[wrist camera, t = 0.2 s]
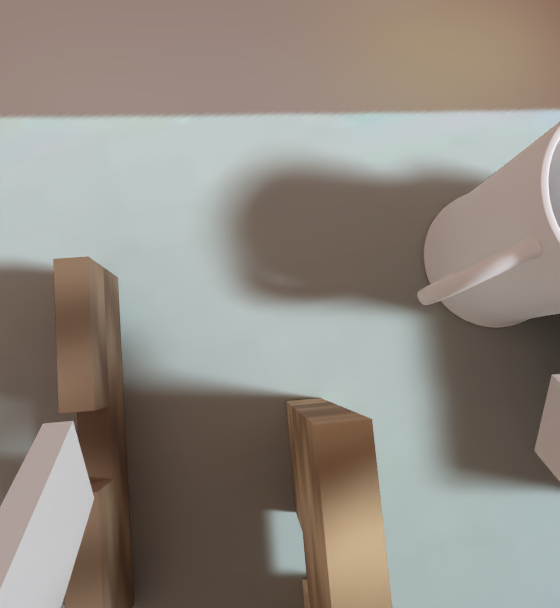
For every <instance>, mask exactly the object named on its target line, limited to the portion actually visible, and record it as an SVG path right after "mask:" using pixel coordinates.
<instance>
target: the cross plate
mask: <svg viewBox="0 0 560 608" xmlns="http://www.w3.org/2000/svg"><path fill="white" fill-rule="evenodd" d="M286 404H287V416H288V427H289V439H290V450H291V461H292V473H293V484H294V495H295V507H296V514H297V517H298V520H299V523H300V525H301V528H302V531H303V540H304V551H305V562H306V574H307V579H303V580H302V586H303V598H304V608H392V601H391V592H390V582H389V573H388V564H387V555H386V545H385V536H384V527H383V518H382V508H381V499H380V490H379V481H378V471H377V462H376V453H375V444H374V434H373V425H372V419H370V418H368V417H365V416H363V415H360V414H358V413H356V412H353V411H351V410H348V409H346V408H343V407H341V406H339V405H336V404H334V403H331V402H329V401H326V400H324V399H322V398H315V399H304V400H294V401H286Z"/></svg>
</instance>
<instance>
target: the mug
mask: <svg viewBox="0 0 560 608" xmlns="http://www.w3.org/2000/svg"><path fill="white" fill-rule="evenodd" d="M424 265H425V271H426V274H427V278H428V280H429V283H430V285H428V286H426V287H424V288H423V289H421V290H419V291H418V293H417V297H418V299H419V301H420V302H421V303H422V304H423V305H430V304H433V303H436V302H438V301H441V302H442V303H443V304H444V305H445V306H446V307H447V308H448V309H449V310H450V311H451V312H453V313H454V314H455V315H457V316H458V317H460V318H462V319H464V320H466V321H468V322H470V323H473V324H476V325H479V326H484V327H494V328H498V327H508V326H513V325H516V324H519V323H522V322H524V321H526V320H528V319H530V318H536V317H542V316H547V315H553V314H559V313H560V122H559V123H558V124H556V125H555V126H554V127H553V128H551V129H550V130H549V131H548V132H546V133H545V134H544V135H542V136H541V137H540V138H539V139H537V140H536V141H535V142H534V143H532V144H531V145H530V146H528V147H527V148H526V149H525V150H523V151H522V152H521V153H519V154H518V155H517V156H516V157H514V158H513V159H512V160H511V161H509V162H508V163H507V164H505V165H504V166H503V167H502V168H500V169H499V170H498V171H497V172H495V173H494V174H493V175H491V176H490V177H489V178H488V179H486V180H485V181H484V182H482V183H481V184H480V185H479V186H477V187H476V188H475V189H474V190H472V191H471V192H470V193H468V194H466V195H463V196H461V197H459V198H457V199H455V200H453V201H452V202H450V203H449V204H448V205H447V206H445V207H444V208H443V209H442V210H441V211H440V212H439V214H438V215H437V216H436V217H435V219H434V220H433V222H432V224H431V226H430V228H429V230H428V233H427V236H426V240H425V245H424Z"/></svg>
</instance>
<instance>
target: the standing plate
mask: <svg viewBox="0 0 560 608" xmlns="http://www.w3.org/2000/svg"><path fill="white" fill-rule="evenodd" d="M53 261H54V291H55V321H56V351H57V381H58V411H59V414H62V413H73V412H77V419H78V441H79V444H80V448H81V452H82V455H83V459H84V462H85V466H86V470H87V473H88V477H89V481H90V484H91V488H92V492H93V495H94V501H93V504H92V508H91V511H90V514H89V518H88V521H87V524H86V527H85V531H84V534H83V537H82V541H81V544H80V547H79V550H78V554H77V557H76V560H75V564H74V567H73V570H72V574H71V577H70V580H69V583H68V587H67V590H66V593H65V608H132V607H133V605H134V598H133V577H132V557H131V537H130V516H129V496H128V475H127V455H126V435H125V414H124V394H123V374H122V353H121V333H120V313H119V292H118V277H116V276H115V275H114V274H112V273H111V272H109V271H108V270H106V269H105V268H104V267H102V266H101V265H99V264H98V263H96V262H95V261H94V260H92V259H91V258H89V257H76V258H61V259H53Z"/></svg>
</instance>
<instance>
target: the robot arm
mask: <svg viewBox="0 0 560 608" xmlns="http://www.w3.org/2000/svg"><path fill="white" fill-rule="evenodd" d="M534 451H535V452H536V454H537V455H538V456H539V457H540V458H541V460H542V461H543V462H544V463H545V464H546V466H547V467H548V468H549V469H550V471H551V472H552V473H553V474H554V475H555V477H556V478H557V479H558V480H559V482H560V374H553V375H551V380H550V384H549V388H548V393H547V397H546V402H545V406H544V410H543V415H542V419H541V423H540V428H539V432H538V437H537V441H536V445H535V450H534ZM93 501H94V495H93V492H92V488H91V484H90V481H89V477H88V473H87V470H86V466H85V462H84V459H83V455H82V452H81V448H80V444H79V441H78V437H77V433H76V430H75V426H74V422H73V421H65V422H54V423H44V424H42V426H41V428H40V430H39V432H38V434H37V436H36V438H35V440H34V442H33V444H32V446H31V448H30V450H29V452H28V454H27V455H26V457H25V459H24V461H23V463H22V465H21V467H20V469H19V471H18V473H17V475H16V477H15V479H14V481H13V483H12V485H11V487H10V489H9V490H8V492H7V494H6V496H5V498H4V500H3V502H2V504H1V506H0V608H61V606H62V603H63V600H64V597H65V593H66V590H67V587H68V583H69V580H70V577H71V574H72V570H73V567H74V564H75V560H76V557H77V554H78V550H79V547H80V544H81V541H82V537H83V534H84V531H85V527H86V524H87V521H88V518H89V514H90V511H91V508H92V504H93Z"/></svg>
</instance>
